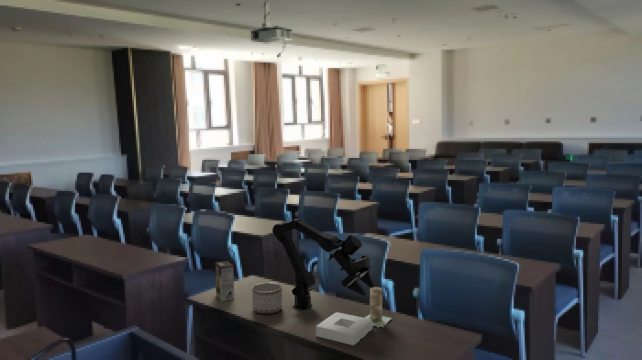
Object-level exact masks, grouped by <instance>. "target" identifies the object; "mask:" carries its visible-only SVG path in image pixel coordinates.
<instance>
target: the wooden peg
mask: <svg viewBox="0 0 642 360" xmlns="http://www.w3.org/2000/svg"><path fill="white" fill-rule="evenodd" d="M369 314H370V319H371V320H372V322H381V321H382V316H383V287H379V286H375V287H372V288H371V287H369Z"/></svg>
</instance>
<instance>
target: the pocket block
mask: <svg viewBox="0 0 642 360" xmlns="http://www.w3.org/2000/svg"><path fill="white" fill-rule="evenodd" d="M372 330H373V326H372V320H371V319H367V318H365V317H361V316H356V315H351V314H349V313H348V314H347V313H343V312H338V311H336V312H334V313H333V314H331V315H330V316H329V317H327V318H325V319H324V320H323V321H321V322H320V323H318V324H317V325H315V336H316V337H318V338H322V339H326V340H330V341H335V342H339V343H343V344H345V345H346V344H347V345H350V346H355V345H356V344H357V343H359V341H360V339H361V338H362V339H363V338H364V337H365V336H366V335H367V333H368V332H369V331H370V332H371V331H372ZM370 332H369V333H370ZM369 333H368V334H369ZM362 339H361V340H362Z"/></svg>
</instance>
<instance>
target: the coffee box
mask: <svg viewBox="0 0 642 360" xmlns="http://www.w3.org/2000/svg"><path fill="white" fill-rule="evenodd" d="M214 270H215V271H214V272H215V273H214V275H215V276H214V277H215V296H216V297H217V298H218V299H219V300H220V302H226V301H230V300H234V299H235V293H234V292H235V284H234V283H235V281H234V280H235V279H234V278H235V275H234V264H232V263H231V262H230V261H228V260H226V261H224V260H223V261H217V262H214Z"/></svg>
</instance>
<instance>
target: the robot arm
mask: <svg viewBox="0 0 642 360" xmlns="http://www.w3.org/2000/svg"><path fill="white" fill-rule="evenodd" d="M293 230H295V231H297V232H299V233H301V234H303V235H305V236H306V237H308V238H309V239H311V240H313V241H314V242H316V243H317V244H318V247H320V248H321V249H322V250H323V251H324V252H325V253H329V257H328V260H329V261H333V260H335V262H336V263H337V264H338V265H339V266H340V271H341V272H344V273H345V274H346V275H347V276H345V278H344V279H342V280H341V283H340V284H341V286H342V287H343V289H345V288H346V289H348V290H351V291H353V292H355V293H357V294H359V295H361V296H364V297H366V296H367V293H366V292H365V290H364V288H363V287H362V286H361V284H360V281H361V282H362V283H364V284H365V285H367V286H368V287H369V288H372V287H376V286H375V283H374V282H373V280H372V277H371V271H372V266H371V262H370V260H371V258H370V257H369V256H368V255H366V254H364V255H362V256H360V259H358V260H357V259H356V258H352V257H351V256H353V255H354V254H356V253H357V252H358V251H359V250H360V249H361V248H362V247H363V243H362V241H361V240H360V239H359V238H357V237H356V236H354V235H353V234H350V235H348V236H347V237H346V239H344V240H343V239H341V238H339V237H338V236H336V235H333V234H330V233H327V232H326V233H325V232H322V231H321V230H319V229H317V228H315V227H314V226H312V225H311V224H308V223H306V222H305V221H303V220H302V219H301V218H294V219H292V220H290V221H281V222H279V223H275V224H274V225H273V227H272V230H271V231H272V234H273V235H274V238H275V239H276V240H277V241H278V242H279V243H280V244H281V245H282V246H283V249H284V251H285V253H286V257H288V260H289V263H290V265H291V267H292V270H293V271H294V274H295V275H294V276H295V277H294V282H295V285H296V286H294V287H293V289H291V293H292V295H293V296H294V305H292V308H295V309H299V310H303V311H305V310H307V309H309V308H310V307H311V306H313V304H312V296H311V292H313V291H312V290H313V288H314V287H315V286H316V277H315V276H314V274H313V271H312V270H310V271H308V270H307V269H306V267H305V264H304V263H303V260H302V258H301V256H300V254H299V251H298V250H297V247H296V245H295V242H294V240H293ZM339 248H340V249H339ZM333 251H334V252H333ZM359 280H360V281H359Z"/></svg>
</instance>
